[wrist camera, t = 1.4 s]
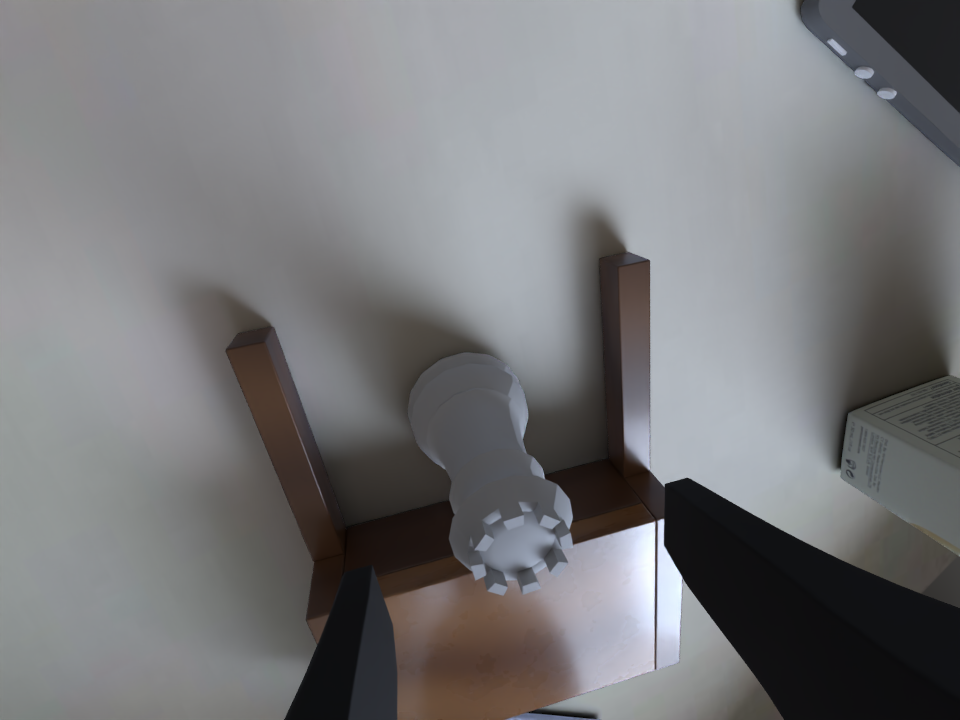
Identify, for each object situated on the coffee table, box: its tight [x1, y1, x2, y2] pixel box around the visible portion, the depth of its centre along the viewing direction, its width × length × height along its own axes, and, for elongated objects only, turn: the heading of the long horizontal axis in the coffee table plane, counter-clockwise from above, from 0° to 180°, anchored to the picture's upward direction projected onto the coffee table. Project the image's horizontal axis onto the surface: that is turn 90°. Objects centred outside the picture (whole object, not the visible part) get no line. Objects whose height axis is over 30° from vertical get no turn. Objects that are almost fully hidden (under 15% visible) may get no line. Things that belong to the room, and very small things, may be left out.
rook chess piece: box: [407, 352, 573, 596], centre depth 15 cm, size 4×4×8 cm
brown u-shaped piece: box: [226, 252, 683, 720], centre depth 19 cm, size 18×14×4 cm
